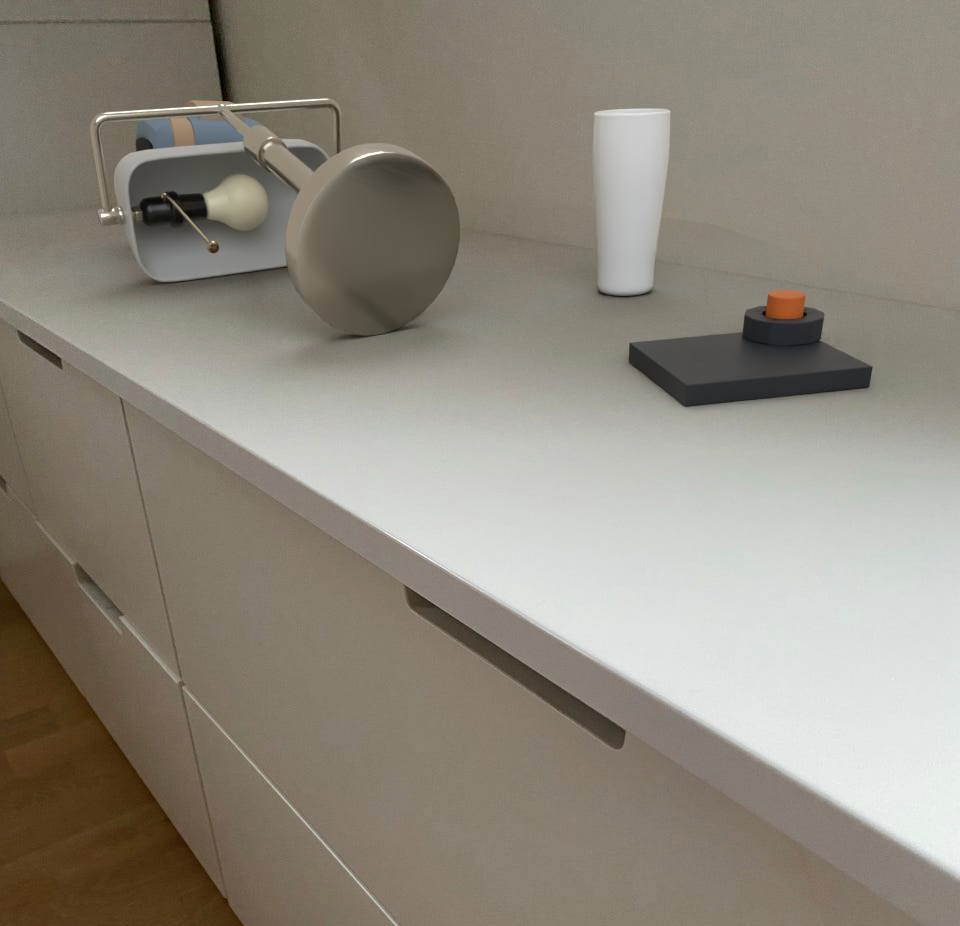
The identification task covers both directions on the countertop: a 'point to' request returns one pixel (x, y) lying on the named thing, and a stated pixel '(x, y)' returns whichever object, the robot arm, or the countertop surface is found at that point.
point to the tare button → (785, 304)
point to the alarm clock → (188, 130)
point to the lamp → (288, 215)
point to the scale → (750, 361)
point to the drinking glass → (628, 195)
